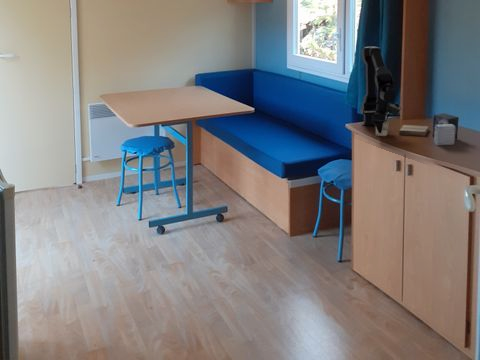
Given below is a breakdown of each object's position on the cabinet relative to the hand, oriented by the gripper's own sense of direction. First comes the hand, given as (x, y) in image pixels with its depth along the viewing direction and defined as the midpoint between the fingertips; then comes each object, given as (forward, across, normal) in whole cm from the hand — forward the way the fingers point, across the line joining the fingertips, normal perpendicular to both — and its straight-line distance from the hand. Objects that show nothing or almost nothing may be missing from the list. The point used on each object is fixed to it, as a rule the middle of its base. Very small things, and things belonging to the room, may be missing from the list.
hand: (381, 130), depth 304 cm
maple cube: (+2, 0, 0) cm, 2 cm away
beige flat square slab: (+2, +8, -14) cm, 16 cm away
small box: (+2, +1, -29) cm, 29 cm away
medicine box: (+2, -11, -30) cm, 32 cm away
